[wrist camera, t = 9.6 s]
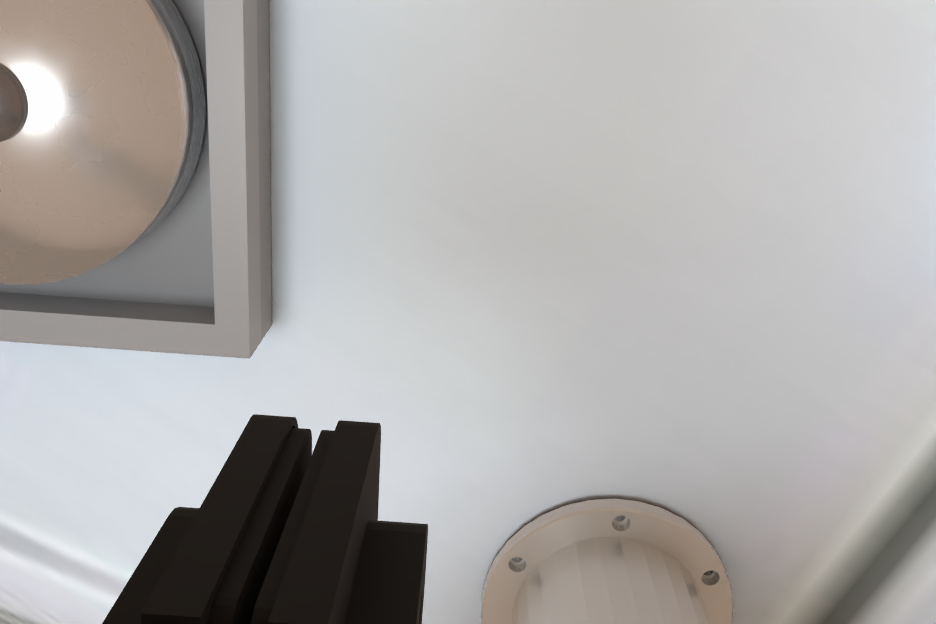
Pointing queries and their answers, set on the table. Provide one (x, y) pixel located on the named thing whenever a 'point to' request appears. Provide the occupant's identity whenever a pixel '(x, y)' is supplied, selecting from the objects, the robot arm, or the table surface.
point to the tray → (185, 225)
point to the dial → (91, 130)
